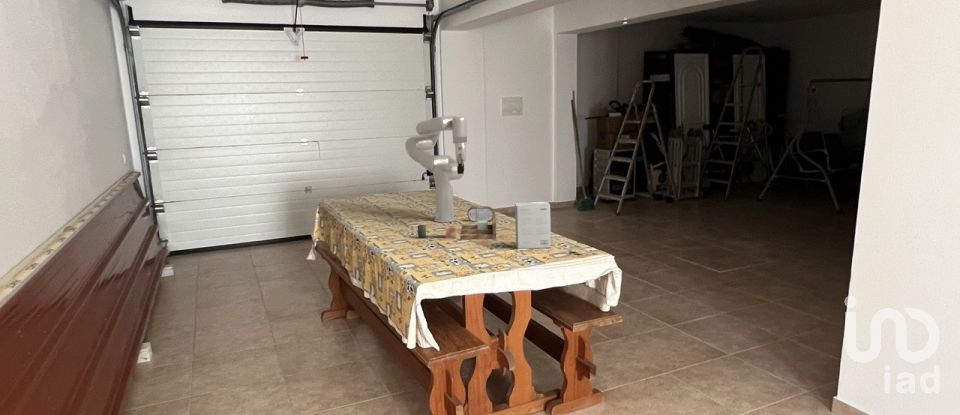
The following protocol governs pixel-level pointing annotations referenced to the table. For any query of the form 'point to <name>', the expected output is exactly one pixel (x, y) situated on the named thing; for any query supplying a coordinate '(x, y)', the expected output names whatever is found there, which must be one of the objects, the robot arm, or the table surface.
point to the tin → (480, 213)
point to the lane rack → (479, 231)
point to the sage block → (482, 225)
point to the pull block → (450, 233)
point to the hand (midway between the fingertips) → (460, 172)
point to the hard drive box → (533, 225)
